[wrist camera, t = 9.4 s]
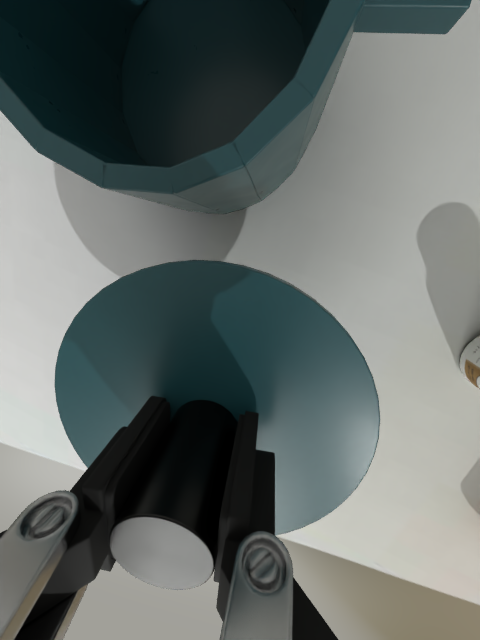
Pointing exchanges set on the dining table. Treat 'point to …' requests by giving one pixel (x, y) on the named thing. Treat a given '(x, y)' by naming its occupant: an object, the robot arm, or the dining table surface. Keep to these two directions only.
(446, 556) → the dining table surface
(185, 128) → the pot
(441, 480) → the dining table surface
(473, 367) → the pill bottle
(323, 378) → the lid
